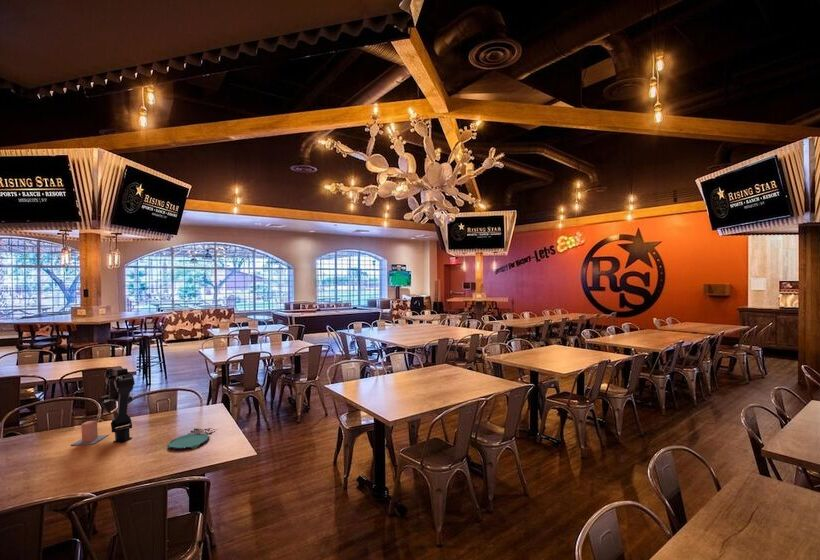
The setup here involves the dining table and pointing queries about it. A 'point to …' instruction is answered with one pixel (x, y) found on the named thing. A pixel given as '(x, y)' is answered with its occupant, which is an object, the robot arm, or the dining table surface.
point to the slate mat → (90, 441)
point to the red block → (89, 431)
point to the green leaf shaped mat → (189, 440)
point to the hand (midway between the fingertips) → (115, 413)
